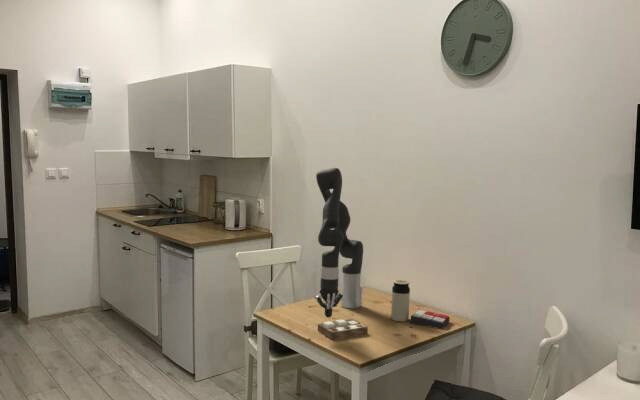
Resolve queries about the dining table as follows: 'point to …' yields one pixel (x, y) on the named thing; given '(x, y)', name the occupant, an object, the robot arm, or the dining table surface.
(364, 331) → the button board
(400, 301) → the travel mug
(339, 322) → the key middle
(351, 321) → the key
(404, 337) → the dining table surface
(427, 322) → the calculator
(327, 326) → the key
